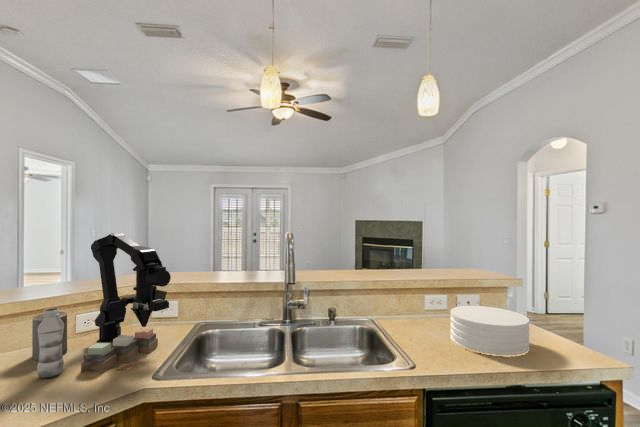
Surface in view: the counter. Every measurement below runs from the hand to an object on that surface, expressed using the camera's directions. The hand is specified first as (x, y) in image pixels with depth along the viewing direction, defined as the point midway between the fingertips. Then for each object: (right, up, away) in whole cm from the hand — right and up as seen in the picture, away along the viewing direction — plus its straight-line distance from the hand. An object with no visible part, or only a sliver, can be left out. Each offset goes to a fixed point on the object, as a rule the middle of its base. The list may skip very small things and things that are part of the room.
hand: (144, 326), depth 128 cm
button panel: (-3, -8, -8) cm, 12 cm away
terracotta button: (0, -4, 0) cm, 4 cm away
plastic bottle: (-18, -8, -22) cm, 29 cm away
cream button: (-3, -4, -8) cm, 9 cm away
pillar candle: (-30, -8, -6) cm, 32 cm away
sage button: (-7, -4, -15) cm, 17 cm away
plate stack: (+131, -11, +11) cm, 131 cm away
